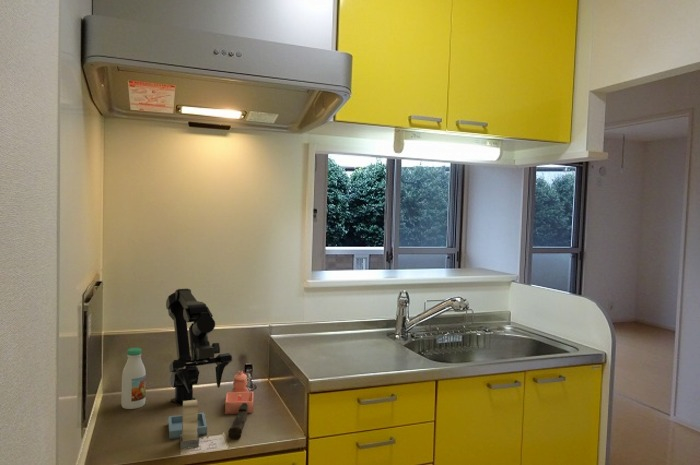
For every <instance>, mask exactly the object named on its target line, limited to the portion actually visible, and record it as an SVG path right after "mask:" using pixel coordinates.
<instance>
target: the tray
mask: <svg viewBox="0 0 700 465" xmlns="http://www.w3.org/2000/svg"><path fill="white" fill-rule="evenodd" d="M182 418H183V414H180V415H179V414H177V415H171V416H168V422H167V424H168V437H169V438H168V439H169V440H177V439H180V435H182ZM197 433H198V437H200V436H207V435H208V425H207V421H206V416H205V412H198V422H197Z"/></svg>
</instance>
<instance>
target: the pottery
mask: <svg viewBox="0 0 700 465" xmlns="http://www.w3.org/2000/svg"><path fill="white" fill-rule="evenodd" d="M247 378H248V375H247V374H246V373H244V371H243V370H239V371H238V372H237V373H236V374H235V375H233V388H232V389H231V391H229V392H226V395H225V400H224V401H225V403H224V415H234V414H235V415H238V412H239V408H240V406H241V405H242V404H243V403H247V411H248V412H247V414H254V391H249V388H248V387H247V385H248V380H247Z"/></svg>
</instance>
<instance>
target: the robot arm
mask: <svg viewBox="0 0 700 465" xmlns="http://www.w3.org/2000/svg"><path fill="white" fill-rule="evenodd" d="M165 307H166V310H167V311H168V316H169V317H170V318H171V319H172V321H173V328H174V336H175V347H176V358H177V359H174V360H173V361H172V362H171V363H170V364H169V373H171V375H170V377H169V378H170V386H172V388H173V389H174V398H171V399H170V401H171V402H173V403H175V404H177V405H178V406H183V401H188V400H197V398H195V397H193V395H194V388H193V386H194V385H198V382H199V375H200V370H199V366H207V365H213V364H215V365H216V367H215V369H214V370H215V377H216V378H215V379H216V387H217V388H220V387H221V383H222V378H223V374H224V370H225V368H226V367H227V366H228V365H229V364H231V363H232V362H233V356H232V354H231V353H230V352H227V353H226V352H225V353H220V352H221V347H220V346H221V345H220V343H219V342H212V343H211V344H210V341H209V336H208V335H210V333H211V332H213V330H214V329H215V327H216V321H215V319H214V318H213V313H212V311H211V310H210V309H209V307H208V306H207V304H206V303H205V302H203V301H198V300H197V299H196V298H195V296H194V294H192V290H191V289H190V288H187V287H186V288H178V289H176V290H175V291H174V292H173V293H171V294H170V295H168V296H167V299H166V302H165ZM188 323H191V324H190V326H189V327H188ZM216 354H218V355H217V356H216V357H215V355H216Z"/></svg>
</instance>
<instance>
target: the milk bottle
mask: <svg viewBox="0 0 700 465" xmlns="http://www.w3.org/2000/svg"><path fill="white" fill-rule="evenodd" d="M126 352H127V353H126V354H127V355H126V357H127V361H126V363H125V365H124V367H123V368H122V372H121V374H122V375H121V400H120V401H121V408H123V409H125V410H136V409H139V408H142V407H143V406H145V404H146V394H147V393H146V388H147V387H146V386H147V378H146V377H147V372H146V367H145V365H144V362H143V360H142V352H143V351H142V348H140V347H131V348H129V349H127V351H126Z"/></svg>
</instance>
